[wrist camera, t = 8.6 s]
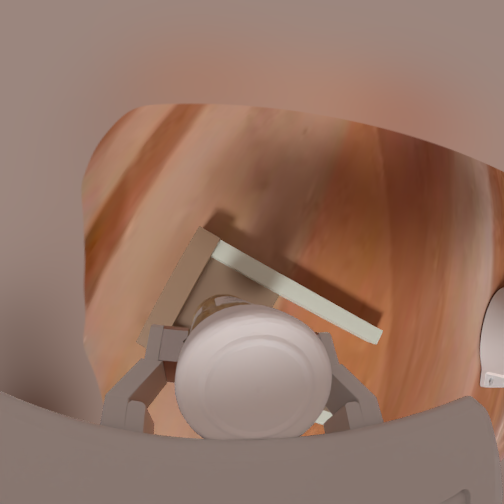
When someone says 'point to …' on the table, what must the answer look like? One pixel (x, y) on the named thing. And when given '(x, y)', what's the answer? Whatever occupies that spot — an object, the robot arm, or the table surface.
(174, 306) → the lane
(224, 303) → the sprinkles bottle
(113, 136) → the table surface
